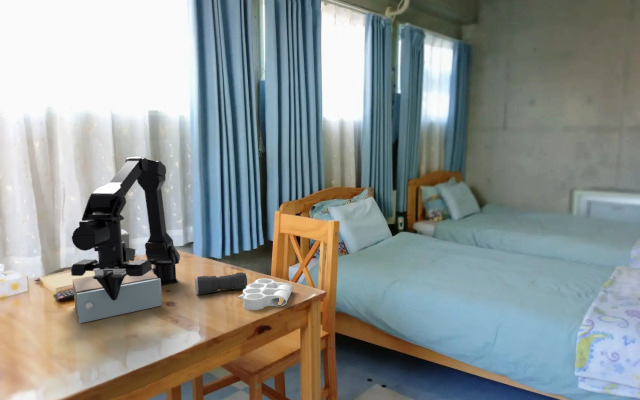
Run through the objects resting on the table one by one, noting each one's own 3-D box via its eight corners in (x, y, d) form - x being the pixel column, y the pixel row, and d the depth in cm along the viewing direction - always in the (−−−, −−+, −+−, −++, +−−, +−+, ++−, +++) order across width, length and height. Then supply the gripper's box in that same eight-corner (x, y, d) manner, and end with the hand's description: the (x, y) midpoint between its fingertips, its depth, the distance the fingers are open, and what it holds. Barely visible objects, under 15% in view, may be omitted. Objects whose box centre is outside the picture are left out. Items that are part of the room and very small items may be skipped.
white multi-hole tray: (284, 312, 118) (231, 310, 119) (294, 289, 135) (248, 288, 137) (284, 300, 117) (230, 299, 118) (294, 278, 135) (248, 277, 136)
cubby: (150, 292, 133) (148, 267, 132) (159, 304, 123) (157, 277, 122) (75, 306, 122) (72, 279, 121) (78, 321, 112) (76, 291, 111)
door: (161, 304, 123) (160, 278, 122) (163, 306, 121) (162, 280, 120) (79, 322, 111) (76, 293, 110) (80, 324, 110) (77, 295, 108)
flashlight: (245, 285, 139) (244, 269, 138) (248, 290, 134) (248, 273, 133) (195, 291, 134) (194, 274, 133) (197, 297, 129) (196, 280, 128)
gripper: (159, 233, 118) (163, 289, 120) (93, 234, 119) (98, 289, 121) (138, 243, 107) (143, 304, 109) (66, 243, 108) (72, 303, 110)
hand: (114, 299), depth 113 cm, fingers closed
